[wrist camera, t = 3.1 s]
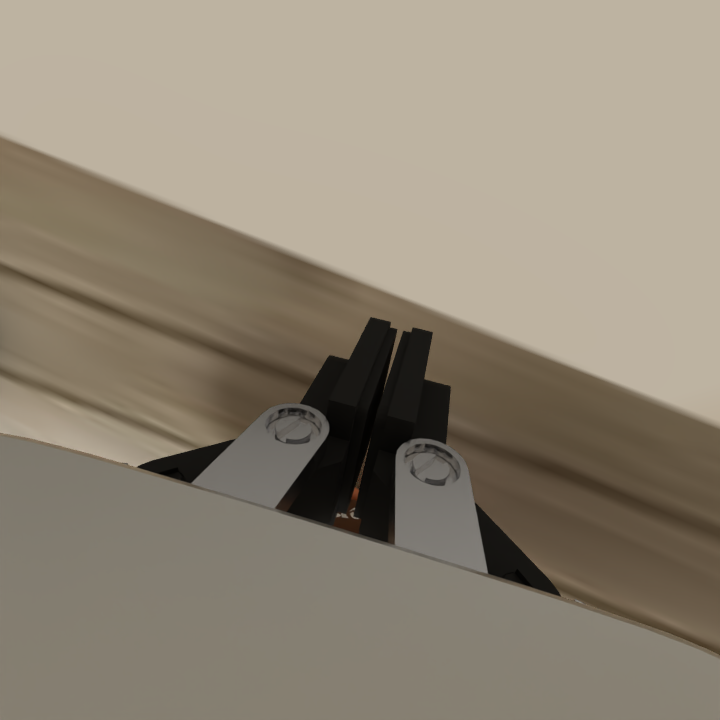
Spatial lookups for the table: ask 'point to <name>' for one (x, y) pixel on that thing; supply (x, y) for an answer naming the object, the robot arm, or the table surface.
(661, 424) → the table surface
